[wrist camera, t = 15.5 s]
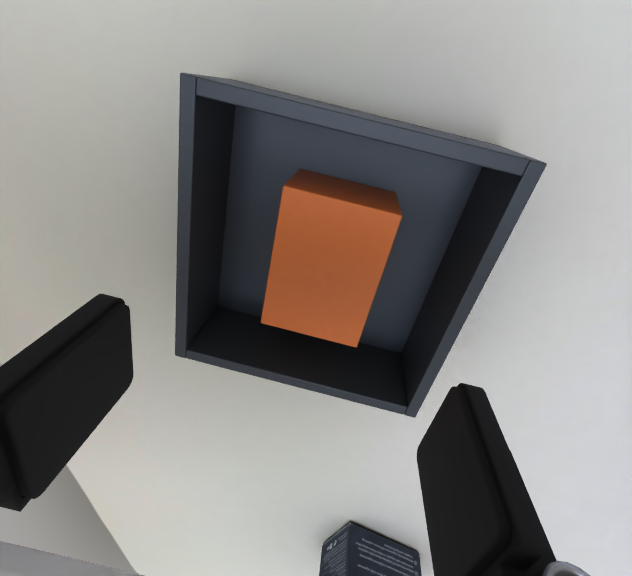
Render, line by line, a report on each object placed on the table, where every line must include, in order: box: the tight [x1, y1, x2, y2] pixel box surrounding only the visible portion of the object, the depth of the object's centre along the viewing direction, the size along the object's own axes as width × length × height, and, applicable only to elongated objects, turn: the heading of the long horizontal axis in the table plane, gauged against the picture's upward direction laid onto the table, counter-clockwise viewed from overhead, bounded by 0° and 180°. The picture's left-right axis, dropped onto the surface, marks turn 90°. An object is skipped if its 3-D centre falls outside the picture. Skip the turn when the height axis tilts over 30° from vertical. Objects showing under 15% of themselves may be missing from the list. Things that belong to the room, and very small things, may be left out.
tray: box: [175, 73, 547, 417], centre depth 18 cm, size 13×13×5 cm
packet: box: [261, 169, 402, 347], centre depth 18 cm, size 5×7×4 cm
